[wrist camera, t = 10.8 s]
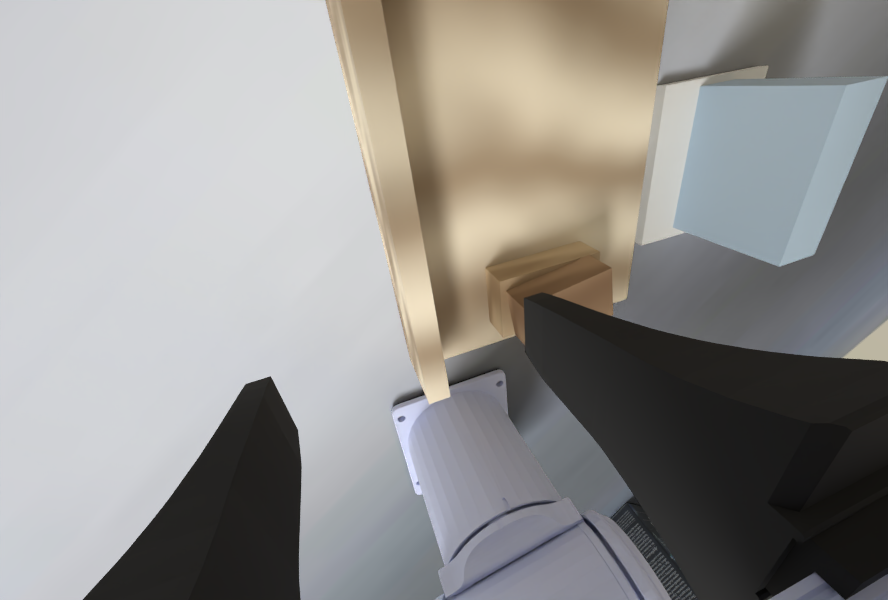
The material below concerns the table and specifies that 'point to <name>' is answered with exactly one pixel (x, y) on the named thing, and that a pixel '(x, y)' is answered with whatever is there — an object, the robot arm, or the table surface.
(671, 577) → the box
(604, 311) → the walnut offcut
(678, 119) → the felt pad
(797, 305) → the table surface
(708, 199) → the pale blue block
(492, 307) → the oak offcut
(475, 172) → the pale wood shallow tray
